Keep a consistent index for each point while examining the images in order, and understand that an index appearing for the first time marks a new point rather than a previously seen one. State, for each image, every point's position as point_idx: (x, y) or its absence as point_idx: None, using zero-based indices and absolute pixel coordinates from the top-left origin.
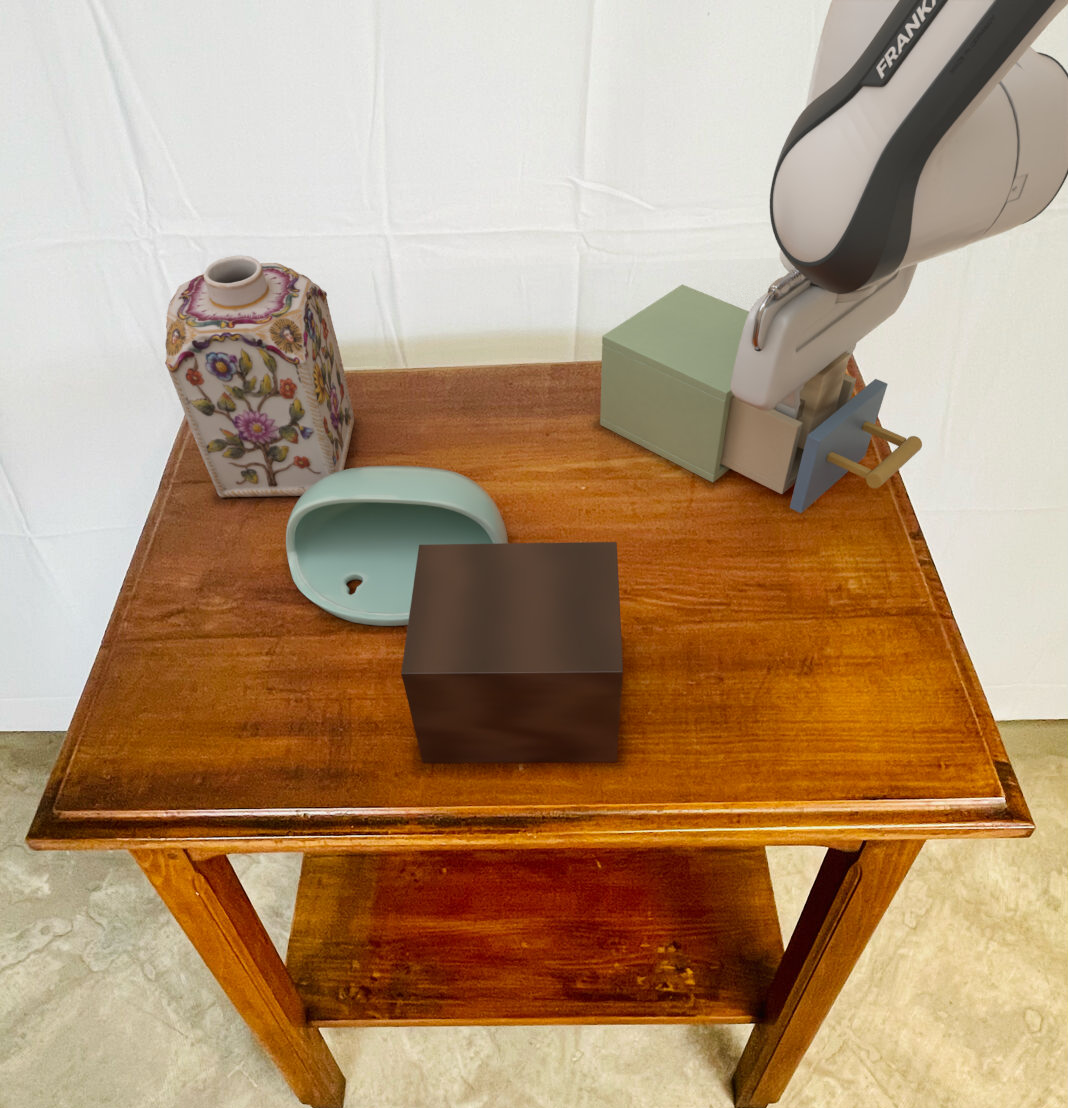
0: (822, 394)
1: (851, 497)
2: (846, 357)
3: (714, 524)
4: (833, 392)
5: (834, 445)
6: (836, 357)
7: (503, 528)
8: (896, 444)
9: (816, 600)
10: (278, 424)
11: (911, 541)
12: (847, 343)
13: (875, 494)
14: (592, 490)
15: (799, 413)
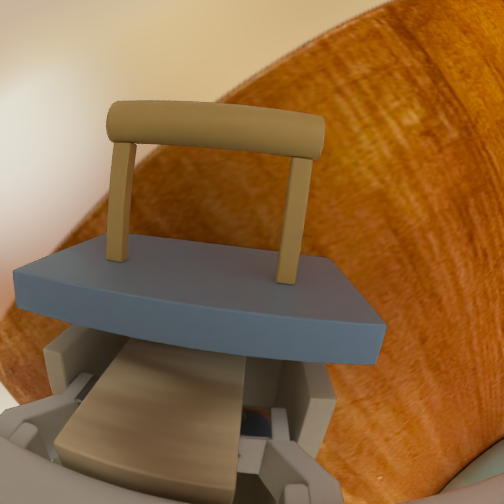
0: (213, 423)
1: (209, 204)
2: (72, 450)
3: (389, 354)
4: (144, 390)
5: (266, 286)
6: (134, 500)
7: (496, 470)
8: (134, 158)
9: (461, 155)
10: None
11: (262, 69)
12: (63, 500)
13: (177, 171)
14: (380, 471)
15: (259, 417)
